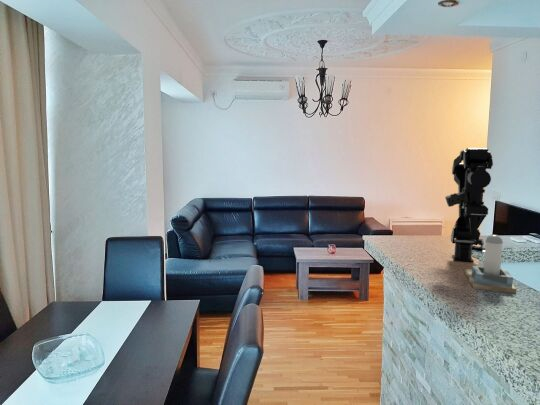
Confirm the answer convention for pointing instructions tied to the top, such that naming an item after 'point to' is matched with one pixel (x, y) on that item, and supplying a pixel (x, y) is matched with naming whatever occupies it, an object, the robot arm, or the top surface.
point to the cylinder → (493, 255)
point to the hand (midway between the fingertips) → (470, 231)
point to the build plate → (479, 247)
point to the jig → (490, 280)
